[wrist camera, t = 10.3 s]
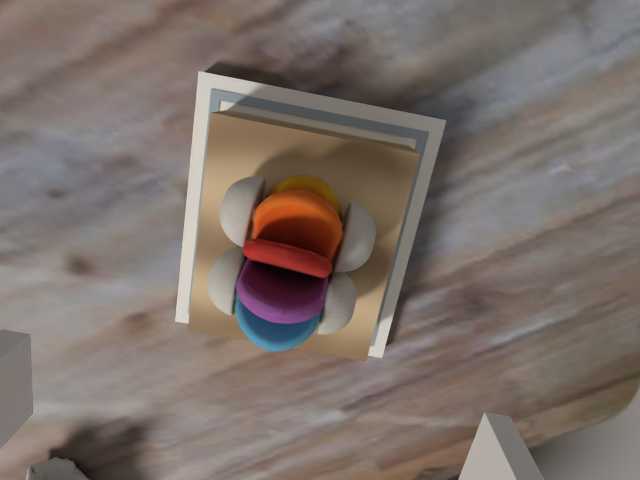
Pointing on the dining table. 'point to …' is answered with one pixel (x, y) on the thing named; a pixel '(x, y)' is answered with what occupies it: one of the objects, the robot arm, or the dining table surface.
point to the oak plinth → (334, 169)
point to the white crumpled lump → (55, 470)
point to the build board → (320, 114)
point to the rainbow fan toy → (289, 259)
